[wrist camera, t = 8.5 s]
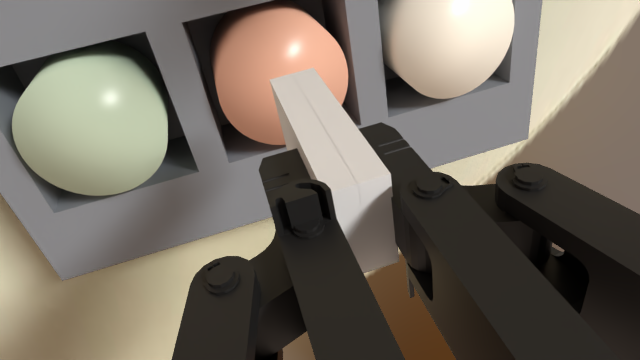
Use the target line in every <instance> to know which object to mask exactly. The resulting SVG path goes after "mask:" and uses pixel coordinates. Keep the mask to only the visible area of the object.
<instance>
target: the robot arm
mask: <svg viewBox="0 0 640 360" xmlns="http://www.w3.org/2000/svg"><path fill="white" fill-rule="evenodd" d="M270 84H271V88H272V92H273V96H274V100H275V104H276V108H277V112H278V116H279V120H280V124H281V128H282V132H283V136H284V140H285V144H286V148H287V151H285V152H282V153H278V154H275V155H272V156H268V157H265V158H263V159H262V162H261V165H260V167H259V173H260V176H261V180H262V183H263V186H264V190H265V193H266V196H267V200H268V203H269V206H270V210H271V214H272V217H273V220H274V224H275V229H276V232H275V236H274V239H273V240H272V242H271V244H270V245H269V246H268V247H267V248H266V249H265V250H264V251H263V252H261V253H260V254H259V255H257V256H256V257H254V258H252V259H251V260H249V261H248V260H247V259H244V258H241V257H239V256H226V257H222V258H219V259H215V260H213V261H212V262H210V263H208V264H206V265H205V266H203V267H202V268H201V269H200V270H199V271H198V272H197V273H196V275H195V276H194V278H193V280H192V283H191V285H190V288H189V292H188V296H187V300H186V304H185V308H184V312H183V316H182V320H181V324H180V328H179V332H178V336H177V340H176V344H175V348H174V352H173V356H172V360H283V350H282V348H283V347H285V346H286V345H288V344H289V343H290V342H292V341H293V340H295V339H296V338H298V337H299V336H300V335H302V334H303V333H305V332H306V331H307V332H308V336H309V339H310V342H311V345H312V349H313V352H314V355H315V359H316V360H405V358H404V356H403V354H402V352H401V350H400V348H399V346H398V344H397V342H396V340H395V338H394V336H393V334H392V332H391V330H390V327H389V325H388V323H387V321H386V319H385V317H384V315H383V313H382V311H381V309H380V307H379V305H378V303H377V301H376V299H375V297H374V295H373V292H372V290H371V288H370V287H369V284H368V282H367V280H366V278H365V276H364V274H363V273H366V272H369V271H372V270H375V269H378V268H381V267H384V266H387V265H390V264H393V263H396V262H399V255H398V247H399V249H400V251H401V252H402V254H403V256H404V257H405V259H406V271H407V284H408V292H409V296H410V298H412V297H414V288H415V289H416V291H417V293H418V294H419V296H420V298H421V299H422V301H423V303H424V304H425V306H426V308H427V310H428V312H429V313H430V315H431V317H432V318H433V320H434V322H435V324H436V325H437V327H438V329H439V330H440V332H441V334H442V336H443V337H444V339H445V341H446V342H447V344H448V346H449V347H450V349H451V351H452V353H453V355H454V356H455V358H456V360H640V214H638V213H636V212H634V211H632V210H630V209H628V208H626V207H624V206H622V205H620V204H619V203H617V202H615V201H613V200H611V199H609V198H606V197H605V196H603V195H601V194H599V193H597V192H595V191H593V190H591V189H589V188H587V187H586V186H584V185H582V184H580V183H578V182H576V181H574V180H572V179H570V178H568V177H566V176H564V175H562V174H560V173H558V172H556V171H554V170H552V169H551V168H548V167H545V166H542V165H540V164H532V163H518V164H513V165H510V166H507V167H505V168H503V169H502V170H501V171H500V172H499V173H498V175H497V178H496V184H488V185H476V186H462V185H460V184H459V183H458V182H457V181H456V180H455V179H454V178H452V177H451V176H449V175H446V174H443V173H440V172H433V171H432V170H431V169H430V168H429V167H428V166H427V164H426V163H425V162H424V161H423V160H422V159H421V158H420V156H419V155H418V154H417V153H416V152H415V151H414V149H413V148H412V147H410V145H409V144H408V143H407V141H406V140H404V139H403V137H402V136H401V135H400V133H399V132H398V131H397V130H396V129H395V128H393V127H391V126H389V125H386V124H384V123H382V122H380V123H377V124H373V125H370V126H367V127H363V128H360V129H358V128H357V127H356V125H355V124H354V122H353V121H352V120H351V118H350V117H349V116H348V114H347V113H346V111H345V110H344V109H343V107H342V106H341V105H340V103H339V102H338V100H337V99H336V98H335V96H334V95H333V94H332V92H331V91H330V89H329V88H328V87H327V85H326V84H325V83H324V81H323V80H322V78H321V77H320V76H319V74H318V73H317V72H316V70H315V69H314V68H310V69H307V70H303V71H299V72H296V73H292V74H288V75H284V76H281V77H277V78H273V79H270ZM552 242H553V243H554V244H556V245H558V246H559V247H561V248H562V249H564V250H565V251H564V252H561V251H559V250H557V249H555V248H553V247H552Z"/></svg>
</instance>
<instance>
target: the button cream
mask: <svg viewBox="0 0 640 360" xmlns="http://www.w3.org/2000/svg"><path fill="white" fill-rule="evenodd" d="M378 11H379V22H380V32H381V43H382V54H383V63H384V64H385V65H387V66H388V67H389V68H390V69H391V70H393V71H394V72H395V73H396V74H397V75H398V76H400V77H401V78H402V79H403V80H404V81H406V82H407V83H408V84H409V85H410V86H412V87H413V88H414V89H415V90H416V91H418V92H419V93H421V94H423V95H425V96H428V97H431V98H436V99H447V98H454V97H458V96H461V95H463V94H466V93H468V92H470V91H472V90H473V89H475V88H477V87H478V86H479V85H481V84H482V83H483V82H485V81H486V80H487V79H488V78H489V77H490V76H491V75H492V74H493V72H494V71H495V70H496V69H497V67H498V66H499V65H500V63H501V62H502V60H503V58H504V56H505V55H506V52H507V50H508V48H509V45H510V42H511V39H512V35H513V31H514V7H513V3H512V0H378Z"/></svg>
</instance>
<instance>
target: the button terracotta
mask: <svg viewBox="0 0 640 360" xmlns="http://www.w3.org/2000/svg"><path fill="white" fill-rule="evenodd" d="M210 62H211V67H212V72H213V76H214V81H215V85H216V89H217V94H218V98H219V102H220V105H221V108H222V110H223V112H224V114H225V116H226V117H227V119H228V120H229V121H230V123H231V124H232V125H233V126H234V127H235V128H236V129H237V130H238V131H240V132H241V133H242V134H244V135H245V136H247V137H249V138H251V139H253V140H255V141H258V142H261V143H265V144H272V145H286V144H285V140H284V136H283V132H282V128H281V124H280V120H279V116H278V112H277V108H276V104H275V100H274V96H273V92H272V88H271V84H270V79H273V78H277V77H281V76H284V75H288V74H292V73H296V72H299V71H303V70H307V69H310V68H314V69H315V70H316V72H317V73H318V74H319V76H320V77H321V78H322V80H323V81H324V83H325V84H326V85H327V87H328V88H329V89H330V91H331V92H332V94H333V95H334V96H335V98H336V99H337V100H338V102H339V103H340V105H341V106H342V104H343V101H344V99H345V96H346V92H347V87H348V68H347V63H346V59H345V56H344V53H343V51H342V49H341V48H340V46H339V44H338V43H337V41H336V40H335V39H334V38H333V37H332V36H331V34H330V33H329V32H328V31H326V30H325V29H324V28H323V27H322V26H321V25H320V24H319V23H318V22H317V21H316V20H315V19H314V18H313V17H312V16H311V15H310V14H308V13H307V12H306V11H305V10H304V9H303V8H302V7H300V6H299V5H297V4H296V3H294V2H292V1H290V0H272V1H268V2H264V3H260V4H256V5H252V6H248V7H244V8H240V9H235V10H231V11H228V12H227V13H226V14H225V15H224V16H223V18H222V19H221V20H220V22H219V23H218V25H217V27H216V29H215V31H214V33H213V36H212V40H211V45H210Z"/></svg>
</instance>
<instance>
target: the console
mask: <svg viewBox="0 0 640 360" xmlns="http://www.w3.org/2000/svg"><path fill="white" fill-rule="evenodd" d="M268 1H272V0H0V193H1V195H2V196H3V197H4V199H5V200H6V202H7V203H8V205H9V206H10V207H11V209H12V210H13V212H14V213H15V214H16V216H17V217H18V219H19V220H20V222H21V223H22V224H23V226H24V227H25V229H26V230H27V231H28V233H29V234H30V236H31V237H32V239H33V240H34V241H35V243H36V244H37V246H38V247H39V248H40V250H41V251H42V253H43V254H44V256H45V257H46V258H47V260H48V261H49V263H50V264H51V265H52V267H53V268H54V270H55V271H56V273H57V274H58V275H59V277H60V278H61V280H62V281H63V280H67V279H70V278H73V277H76V276H80V275H83V274H86V273H90V272H93V271H96V270H99V269H103V268H106V267H109V266H113V265H116V264H119V263H122V262H126V261H129V260H132V259H135V258H139V257H142V256H145V255H149V254H152V253H155V252H158V251H162V250H165V249H168V248H172V247H175V246H178V245H181V244H185V243H188V242H191V241H195V240H198V239H201V238H204V237H208V236H211V235H214V234H217V233H221V232H224V231H227V230H231V229H234V228H237V227H240V226H244V225H247V224H250V223H254V222H257V221H260V220H263V219H267V218H270V217H272V214H271V210H270V206H269V203H268V200H267V196H266V193H265V190H264V186H263V183H262V180H261V176H260V173H259V167H260V165H261V162H262V159H263V158H265V157H268V156H272V155H275V154H278V153H282V152H285V151H287V148H286V145H272V144H265V143H261V142H258V141H255V140H253V139H251V138H249V137H247V136H245V135H244V134H242V133H241V132H240V131H238V130H237V129H236V128H235V127H234V126H233V125H232V124H231V123H230V121H229V120H228V119H227V117H226V116H225V114H224V112H223V110H222V108H221V105H220V102H219V98H218V94H217V89H216V85H215V81H214V76H213V72H212V67H211V62H210V45H211V40H212V36H213V33H214V31H215V29H216V27H217V25H218V23H219V22H220V20H221V19H222V18H223V16H224V15H225V14H226V13H227V12H228V11H231V10H235V9H240V8H244V7H248V6H252V5H256V4H260V3H264V2H268ZM290 1H292V2H294V3H296V4H297V5H299V6H300V7H302V8H303V9H304V10H305V11H306V12H307V13H308V14H310V15H311V16H312V17H313V18H314V19H315V20H316V21H317V22H318V23H319V24H320V25H321V26H322V27H323V28H324V29H325V30H326V31H328V32H329V33H330V34H331V36H332V37H333V38H334V39H335V40H336V41H337V43H338V44H339V46H340V48H341V49H342V51H343V53H344V56H345V59H346V63H347V68H348V87H347V92H346V96H345V99H344V101H343V104H342V107H343V109H344V110H345V111H346V113H347V114H348V116H349V117H350V118H351V120H352V121H353V122H354V124H355V125H356V127H357V128H358V129H360V128H363V127H367V126H370V125H373V124H377V123H380V122H382V123H384V124H386V125H389V126H391V127H393V128H395V129H396V130H397V131H398V132H399V133H400V135H401V136H402V137H403V139H404V140H406V141H407V143H408V144H409V145H410V147H412V148H413V149H414V151H415V152H416V153H417V154H418V155H419V156H420V158H421V159H422V160H423V161H424V162H425V163H426V164H427V166H428V167H429V168H430V169H431V168H434V167H437V166H440V165H444V164H447V163H450V162H454V161H457V160H460V159H463V158H467V157H470V156H473V155H477V154H480V153H483V152H486V151H490V150H493V149H496V148H500V147H503V146H506V145H509V144H513V143H516V142H519V141H522V140H526V139H528V133H529V123H530V114H531V104H532V95H533V85H534V75H535V66H536V56H537V47H538V37H539V27H540V18H541V8H542V0H512V3H513V7H514V31H513V35H512V39H511V42H510V45H509V48H508V50H507V52H506V55H505V56H504V58H503V60H502V62H501V63H500V65H499V66H498V67H497V69H496V70H495V71H494V72H493V74H492V75H491V76H490V77H489V78H488V79H487V80H486V81H485V82H483V83H482V84H481V85H479V86H478V87H477V88H475V89H473V90H472V91H470V92H468V93H466V94H463V95H461V96H458V97H454V98H447V99H436V98H431V97H428V96H425V95H423V94H421V93H419V92H418V91H416V90H415V89H414V88H413V87H412V86H410V85H409V84H408V83H407V82H406V81H404V80H403V79H402V78H401V77H400V76H398V75H397V74H396V73H395V72H394V71H393V70H391V69H390V68H389V67H388V66H387V65H385V64H384V63H383V54H382V43H381V32H380V22H379V11H378V0H290ZM109 40H114V41H117V42H120V43H123V44H125V45H128V46H130V47H132V48H134V49H135V50H137V51H139V52H140V53H141V54H143V55H144V56H145V57H146V58H147V59H148V60H150V61H151V62H152V64H153V65H154V66H155V67H156V68H157V70H158V71H159V73H160V75H161V76H162V78H163V81H164V83H165V86H166V89H167V94H168V143H167V150H166V153H165V157H164V159H163V161H162V163H161V165H160V166H159V168H158V169H157V171H156V172H155V173H154V174H153V175H152V176H151V177H150V178H149V179H148V180H146V181H145V182H144V183H142V184H141V185H139V186H137V187H135V188H133V189H131V190H128V191H125V192H122V193H118V194H113V195H105V196H93V195H83V194H78V193H74V192H70V191H67V190H64V189H62V188H59V187H57V186H55V185H53V184H51V183H49V182H48V181H46V180H45V179H43V178H42V177H40V176H39V175H38V174H37V173H36V172H34V171H33V170H32V169H31V168H30V167H29V166H28V164H27V163H26V162H25V161H24V159H23V158H22V156H21V155H20V153H19V151H18V149H17V147H16V144H15V141H14V137H13V132H12V119H13V113H14V110H15V107H16V104H17V103H18V101H19V99H20V97H21V96H22V94H23V93H24V91H25V90H26V88H27V87H28V86H29V84H30V83H31V81H32V80H33V78H34V77H35V76H36V74H37V73H38V71H39V70H40V68H41V67H42V66H43V64H44V63H45V61H46V60H47V59H48V58H49V56H50V55H51V54H55V53H60V52H64V51H68V50H72V49H76V48H80V47H84V46H88V45H92V44H96V43H100V42H105V41H109Z"/></svg>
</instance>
